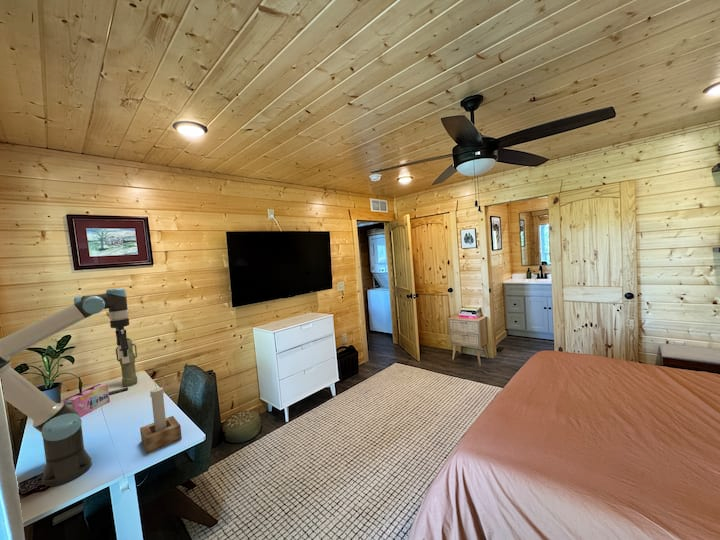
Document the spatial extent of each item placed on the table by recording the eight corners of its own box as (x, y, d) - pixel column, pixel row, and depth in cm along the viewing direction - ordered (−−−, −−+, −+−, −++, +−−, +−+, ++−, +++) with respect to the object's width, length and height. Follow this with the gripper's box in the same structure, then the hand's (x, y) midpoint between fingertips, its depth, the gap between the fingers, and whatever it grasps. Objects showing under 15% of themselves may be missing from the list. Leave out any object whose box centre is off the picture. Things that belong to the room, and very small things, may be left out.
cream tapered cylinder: (161, 441, 145) (155, 380, 143) (150, 441, 146) (144, 380, 145) (171, 435, 150) (165, 375, 149) (160, 434, 151) (154, 375, 150)
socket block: (147, 453, 138) (145, 438, 138) (141, 441, 148) (140, 427, 148) (181, 438, 148) (180, 425, 147) (174, 428, 158) (172, 415, 157)
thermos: (119, 387, 221) (113, 340, 220) (139, 381, 229) (133, 336, 228) (120, 390, 215) (115, 342, 213) (141, 384, 223) (135, 338, 221)
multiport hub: (108, 395, 209) (107, 392, 209) (128, 390, 215) (127, 387, 215) (107, 397, 206) (107, 394, 205) (128, 392, 212) (127, 389, 212)
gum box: (102, 402, 198) (100, 383, 197) (112, 402, 197) (110, 383, 196) (65, 421, 176) (62, 399, 175) (76, 420, 175) (73, 399, 174)
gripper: (132, 319, 146) (137, 363, 147) (125, 315, 164) (129, 353, 165) (112, 323, 141) (117, 367, 142) (107, 318, 159) (111, 357, 160)
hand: (124, 360), depth 153 cm, fingers open, 13 cm apart
